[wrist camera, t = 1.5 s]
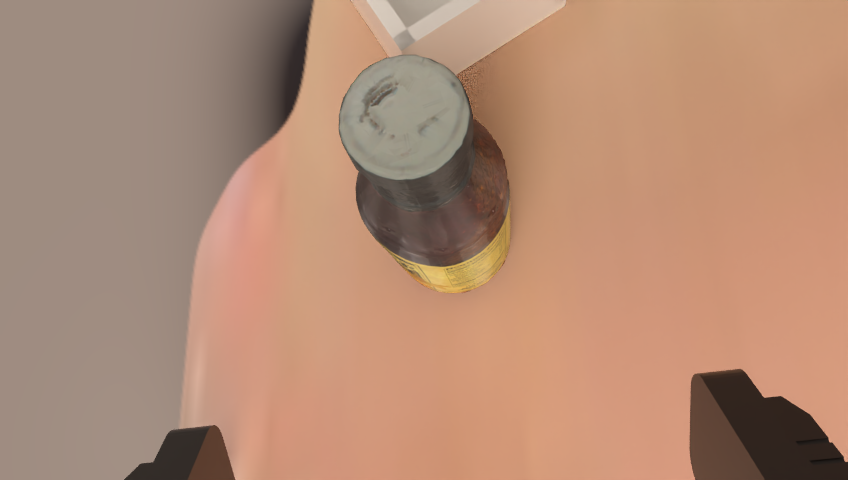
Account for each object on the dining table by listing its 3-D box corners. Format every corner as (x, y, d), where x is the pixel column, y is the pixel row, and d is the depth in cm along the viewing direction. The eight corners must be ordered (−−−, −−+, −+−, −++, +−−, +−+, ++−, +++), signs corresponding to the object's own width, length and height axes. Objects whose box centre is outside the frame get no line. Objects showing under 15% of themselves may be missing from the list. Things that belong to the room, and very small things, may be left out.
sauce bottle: (391, 204, 42) (279, 29, 23) (497, 178, 41) (475, -23, 22) (414, 315, 40) (313, 227, 21) (525, 289, 40) (526, 176, 21)
